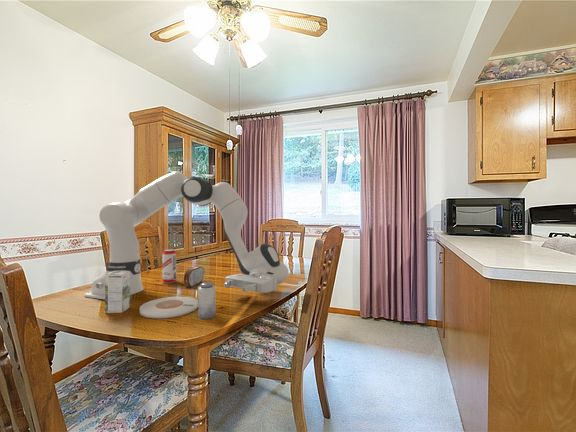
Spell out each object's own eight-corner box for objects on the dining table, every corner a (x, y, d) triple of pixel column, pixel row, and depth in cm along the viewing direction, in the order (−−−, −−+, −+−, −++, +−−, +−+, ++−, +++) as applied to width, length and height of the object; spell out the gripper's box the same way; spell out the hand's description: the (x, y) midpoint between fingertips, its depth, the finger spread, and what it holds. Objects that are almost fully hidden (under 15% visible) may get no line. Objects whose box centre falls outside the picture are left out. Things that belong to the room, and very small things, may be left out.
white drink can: (195, 322, 96) (194, 285, 95) (202, 316, 101) (202, 281, 101) (211, 323, 95) (211, 286, 95) (218, 317, 100) (217, 281, 100)
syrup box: (113, 311, 107) (112, 270, 106) (130, 310, 107) (129, 270, 107) (104, 316, 101) (104, 274, 101) (123, 316, 102) (122, 273, 101)
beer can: (171, 284, 144) (171, 251, 143) (160, 283, 145) (159, 250, 145) (179, 281, 150) (178, 249, 150) (167, 280, 151) (167, 248, 151)
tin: (199, 280, 151) (199, 264, 151) (204, 281, 151) (204, 264, 150) (183, 288, 136) (182, 270, 136) (189, 289, 136) (189, 270, 136)
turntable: (126, 316, 98) (126, 311, 98) (160, 299, 116) (160, 294, 116) (181, 319, 95) (181, 314, 95) (206, 301, 113) (206, 297, 113)
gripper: (240, 268, 125) (214, 275, 114) (279, 274, 113) (255, 282, 102) (240, 283, 125) (214, 291, 114) (279, 291, 114) (255, 300, 102)
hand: (234, 287), depth 108 cm, fingers open, 8 cm apart
